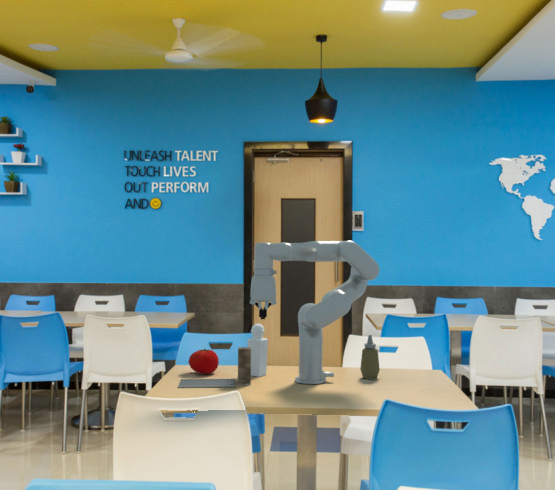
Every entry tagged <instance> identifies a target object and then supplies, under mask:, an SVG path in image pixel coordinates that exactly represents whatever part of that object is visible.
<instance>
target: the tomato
mask: <svg viewBox="0 0 555 490" xmlns="http://www.w3.org/2000/svg"><path fill="white" fill-rule="evenodd" d="M219 359H220V358H219V356H218V354H217V353H216V352H215V351H214V350H212V349H206V348H203V349H198V350H196V351H194V352H192V353H191V354H190V356H189V359H188V365H189V367H190V369H191V370H193V371H194V372H196V373H198V374H204V375H205V374H206V375H207V374H209V375H210V374H212V373H214V372H216V371H217V369H218V366H219V363H220V362H219V361H220V360H219Z"/></svg>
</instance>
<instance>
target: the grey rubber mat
mask: <svg viewBox="0 0 555 490" xmlns="http://www.w3.org/2000/svg"><path fill="white" fill-rule="evenodd" d="M179 381H180V382H179V384H178V385H177V389H191V388H192V389H199V388H200V389H202V388H203V389H204V388H206V389H208V388H211V389H212V388H215V389H216V388H236V378H181V379H180V380H179Z"/></svg>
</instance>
